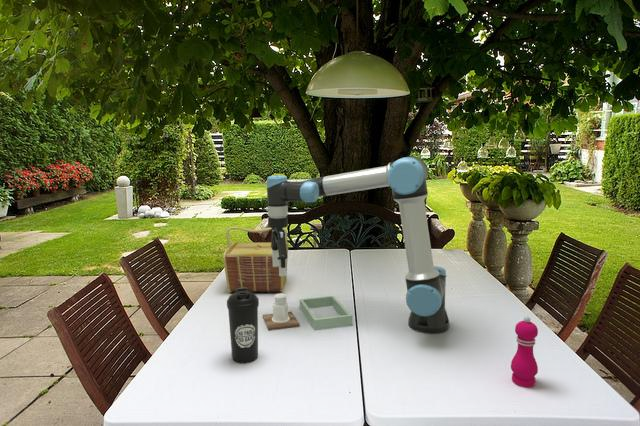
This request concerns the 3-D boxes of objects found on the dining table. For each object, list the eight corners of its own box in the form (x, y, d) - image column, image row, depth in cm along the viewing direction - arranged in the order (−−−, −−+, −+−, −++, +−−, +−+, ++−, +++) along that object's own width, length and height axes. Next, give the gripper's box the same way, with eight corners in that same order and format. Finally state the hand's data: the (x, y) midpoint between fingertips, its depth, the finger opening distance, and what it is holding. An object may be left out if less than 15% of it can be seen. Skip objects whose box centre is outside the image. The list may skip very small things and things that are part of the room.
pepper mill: (529, 375, 139) (533, 311, 136) (541, 388, 132) (546, 321, 129) (505, 375, 139) (509, 312, 136) (516, 388, 132) (520, 321, 129)
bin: (352, 325, 178) (352, 315, 177) (314, 330, 174) (314, 320, 173) (333, 304, 201) (333, 295, 200) (299, 308, 197) (299, 299, 196)
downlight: (269, 317, 185) (268, 293, 183) (285, 314, 187) (285, 290, 185) (275, 325, 177) (275, 300, 175) (292, 322, 180) (292, 297, 178)
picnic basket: (222, 296, 213) (219, 232, 208) (234, 279, 238) (231, 222, 233) (286, 296, 212) (284, 232, 207) (291, 279, 237) (289, 221, 232)
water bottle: (230, 366, 147) (227, 297, 144) (228, 352, 157) (225, 287, 153) (262, 362, 150) (260, 293, 146) (258, 348, 160) (255, 284, 156)
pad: (299, 326, 178) (299, 324, 177) (268, 330, 174) (268, 328, 174) (291, 313, 191) (291, 311, 191) (262, 317, 188) (262, 314, 188)
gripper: (262, 212, 187) (264, 263, 190) (273, 222, 163) (275, 281, 166) (281, 211, 189) (282, 262, 192) (294, 221, 165) (296, 279, 168)
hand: (279, 271), depth 179 cm, fingers open, 13 cm apart
